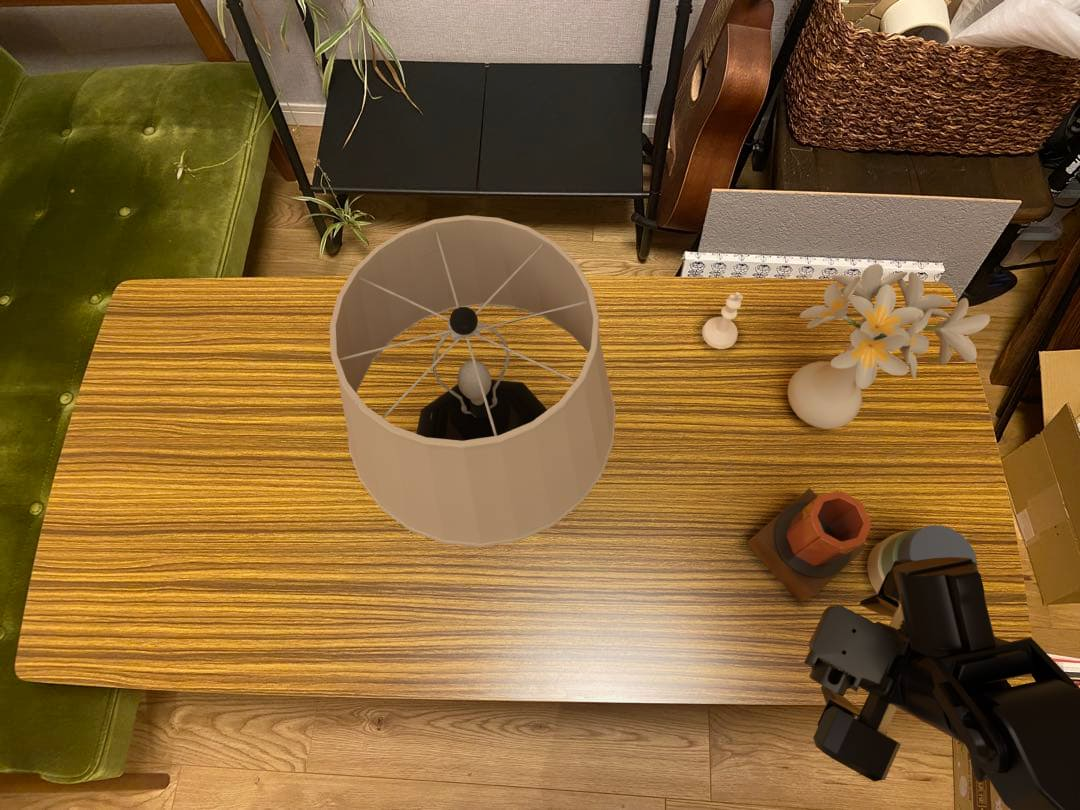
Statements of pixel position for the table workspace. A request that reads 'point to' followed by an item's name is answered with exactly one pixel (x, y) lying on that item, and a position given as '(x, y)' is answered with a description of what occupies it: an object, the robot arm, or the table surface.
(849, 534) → the terracotta octagonal pot
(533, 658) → the table surface
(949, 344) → the flower vase
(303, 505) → the table surface
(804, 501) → the coaster stand
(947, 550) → the disc stack
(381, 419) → the table lamp
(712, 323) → the chess piece
